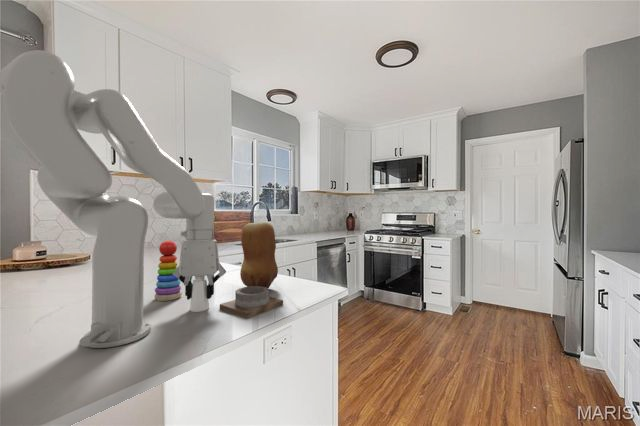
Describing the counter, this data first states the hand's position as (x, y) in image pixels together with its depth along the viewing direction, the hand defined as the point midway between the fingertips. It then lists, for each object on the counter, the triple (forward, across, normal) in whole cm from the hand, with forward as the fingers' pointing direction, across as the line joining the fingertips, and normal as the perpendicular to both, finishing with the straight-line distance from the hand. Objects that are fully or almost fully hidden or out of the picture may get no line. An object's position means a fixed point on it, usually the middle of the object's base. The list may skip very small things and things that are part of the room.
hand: (199, 297), depth 83 cm
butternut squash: (+4, +16, +18) cm, 24 cm away
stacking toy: (+4, -13, +12) cm, 18 cm away
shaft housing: (+3, +15, 0) cm, 15 cm away
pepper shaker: (+4, 0, 0) cm, 4 cm away
